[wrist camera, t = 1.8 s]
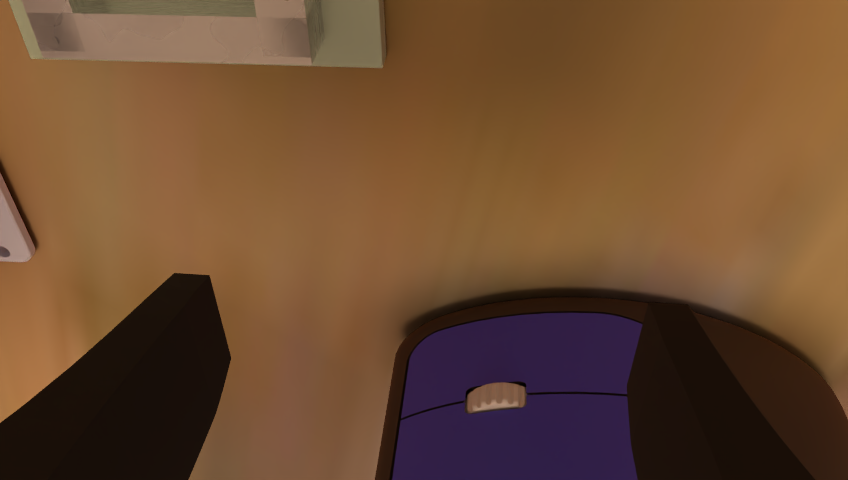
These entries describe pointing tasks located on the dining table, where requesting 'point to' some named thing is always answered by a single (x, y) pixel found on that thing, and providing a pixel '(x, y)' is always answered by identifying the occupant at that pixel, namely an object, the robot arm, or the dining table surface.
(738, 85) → the dining table surface
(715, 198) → the dining table surface
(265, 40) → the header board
